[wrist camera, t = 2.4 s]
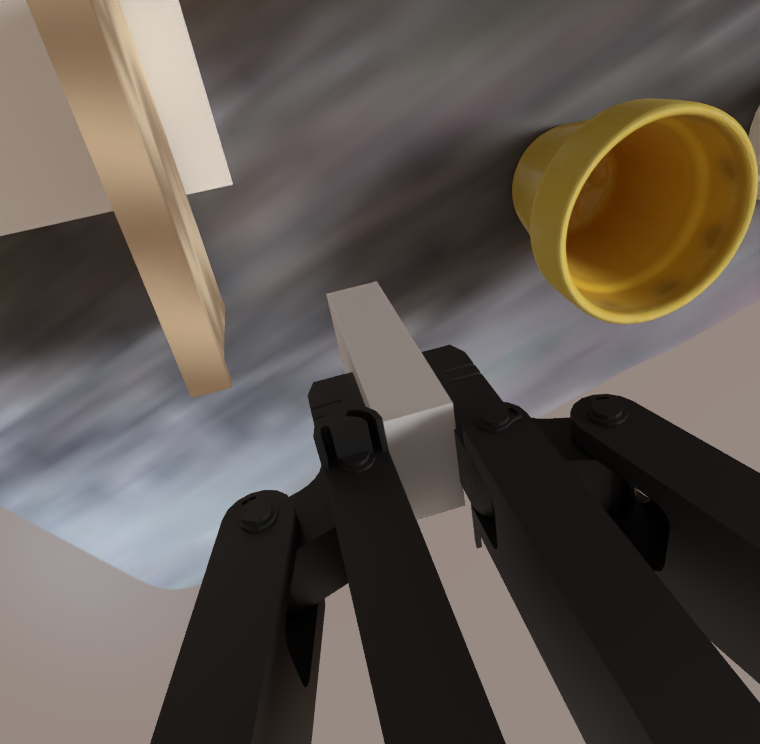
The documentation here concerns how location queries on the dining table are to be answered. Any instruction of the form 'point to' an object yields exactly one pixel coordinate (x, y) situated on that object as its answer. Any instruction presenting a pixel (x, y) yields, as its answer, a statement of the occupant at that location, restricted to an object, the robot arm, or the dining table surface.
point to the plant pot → (637, 205)
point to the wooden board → (139, 177)
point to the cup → (756, 143)
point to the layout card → (61, 132)
